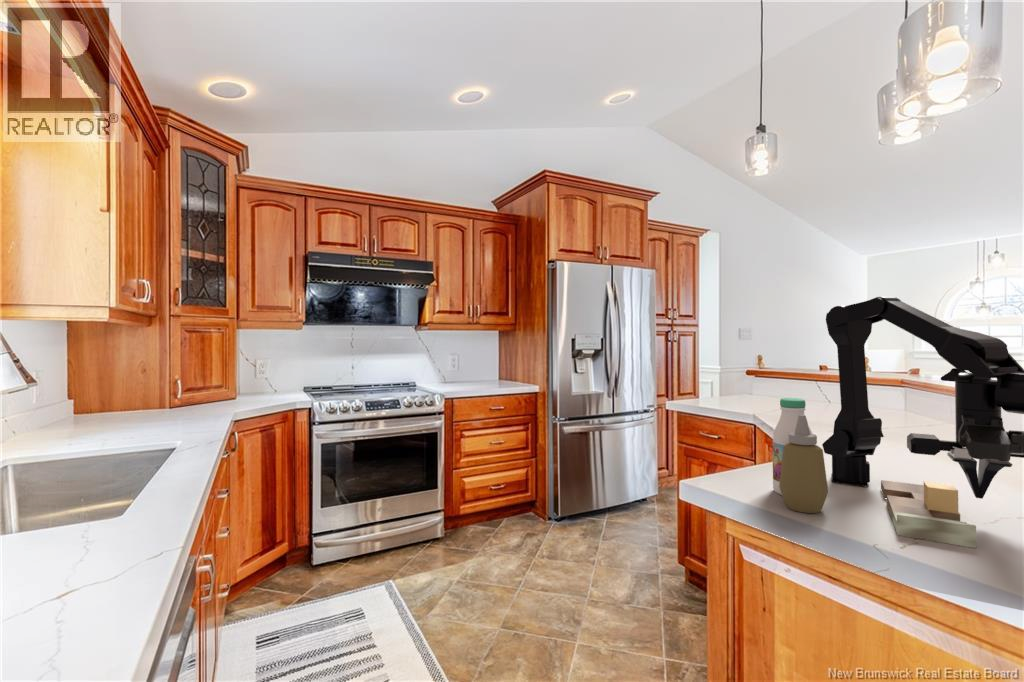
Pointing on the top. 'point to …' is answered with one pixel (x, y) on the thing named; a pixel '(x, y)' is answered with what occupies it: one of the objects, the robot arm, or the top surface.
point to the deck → (924, 516)
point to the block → (941, 497)
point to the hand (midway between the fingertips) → (978, 497)
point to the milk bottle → (785, 433)
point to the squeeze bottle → (803, 471)
